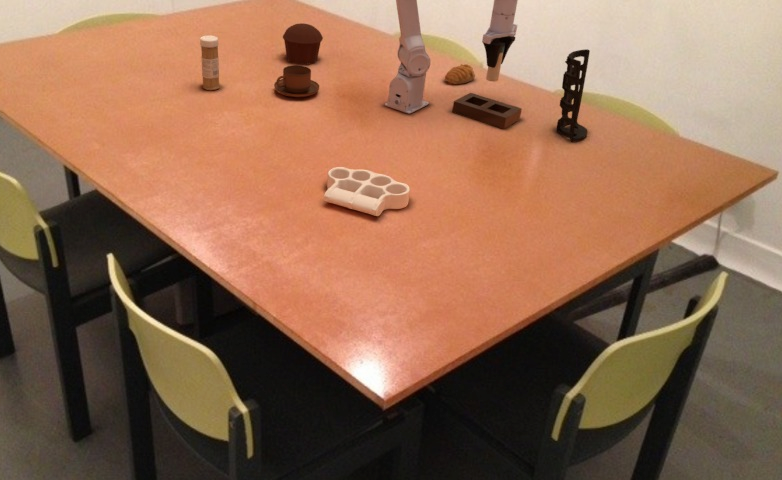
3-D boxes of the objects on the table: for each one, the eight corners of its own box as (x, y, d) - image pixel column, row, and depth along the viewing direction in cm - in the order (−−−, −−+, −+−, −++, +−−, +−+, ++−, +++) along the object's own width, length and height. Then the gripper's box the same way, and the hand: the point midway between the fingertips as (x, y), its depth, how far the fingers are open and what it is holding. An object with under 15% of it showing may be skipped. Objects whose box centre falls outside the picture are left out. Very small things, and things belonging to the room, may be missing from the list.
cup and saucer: (299, 104, 199) (300, 81, 195) (264, 92, 205) (264, 69, 201) (328, 92, 207) (329, 70, 204) (293, 81, 213) (294, 59, 209)
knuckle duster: (309, 201, 157) (340, 173, 168) (390, 224, 151) (417, 194, 162) (309, 186, 156) (341, 159, 167) (392, 210, 150) (419, 180, 161)
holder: (588, 143, 188) (600, 62, 177) (556, 142, 189) (566, 61, 179) (585, 126, 197) (596, 48, 186) (555, 125, 198) (564, 47, 188)
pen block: (503, 129, 193) (506, 118, 191) (452, 112, 201) (453, 101, 199) (519, 119, 199) (522, 108, 197) (468, 103, 206) (470, 92, 205)
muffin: (276, 62, 224) (277, 27, 219) (289, 50, 233) (290, 17, 228) (315, 68, 222) (316, 33, 216) (327, 56, 231) (328, 23, 225)
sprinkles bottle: (213, 83, 208) (212, 33, 200) (223, 88, 205) (221, 38, 198) (199, 86, 206) (196, 36, 198) (208, 92, 203) (206, 41, 195)
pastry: (458, 87, 215) (459, 74, 213) (438, 81, 219) (439, 68, 217) (476, 79, 221) (478, 66, 219) (456, 73, 225) (458, 60, 223)
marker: (494, 82, 202) (500, 48, 196) (481, 78, 203) (487, 44, 198) (500, 79, 204) (507, 45, 199) (488, 75, 206) (494, 41, 200)
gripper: (504, 21, 187) (494, 75, 195) (531, 10, 196) (521, 62, 204) (478, 14, 190) (470, 68, 198) (506, 4, 200) (497, 55, 208)
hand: (494, 65), depth 201 cm, fingers closed on marker, 3 cm apart
